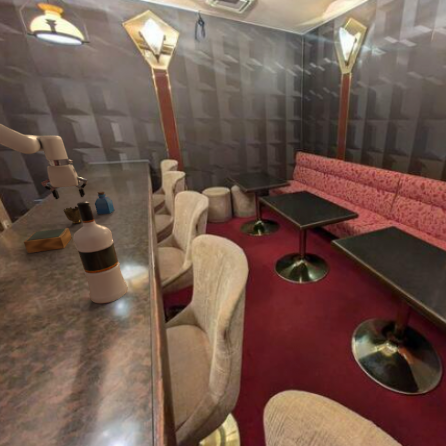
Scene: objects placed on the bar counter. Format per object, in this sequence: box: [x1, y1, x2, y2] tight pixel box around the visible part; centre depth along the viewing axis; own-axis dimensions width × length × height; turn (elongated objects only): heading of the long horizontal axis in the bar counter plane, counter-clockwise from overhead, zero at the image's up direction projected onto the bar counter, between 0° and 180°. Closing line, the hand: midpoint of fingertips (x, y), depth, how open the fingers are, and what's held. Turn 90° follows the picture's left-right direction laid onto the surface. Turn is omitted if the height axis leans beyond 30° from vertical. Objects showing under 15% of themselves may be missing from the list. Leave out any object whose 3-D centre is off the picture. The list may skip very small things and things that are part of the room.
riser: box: [23, 227, 73, 254], centre depth 104 cm, size 11×11×5 cm
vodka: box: [72, 201, 129, 304], centre depth 71 cm, size 9×9×30 cm
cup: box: [63, 206, 83, 225], centre depth 127 cm, size 8×7×8 cm
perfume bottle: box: [94, 191, 115, 215], centre depth 143 cm, size 6×6×12 cm
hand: (70, 197), depth 123 cm, fingers open, 9 cm apart
